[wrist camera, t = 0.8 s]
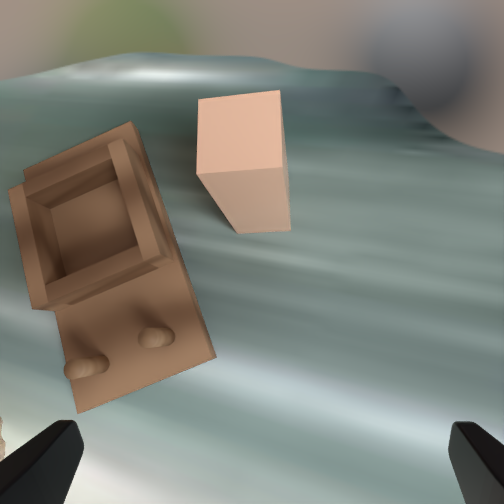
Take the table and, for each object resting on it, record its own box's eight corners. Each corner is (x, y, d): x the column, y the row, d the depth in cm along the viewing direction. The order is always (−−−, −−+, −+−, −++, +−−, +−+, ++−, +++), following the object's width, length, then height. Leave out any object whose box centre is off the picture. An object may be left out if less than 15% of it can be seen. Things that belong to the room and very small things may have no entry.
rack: (216, 357, 23) (198, 363, 19) (88, 409, 24) (44, 426, 20) (137, 129, 29) (110, 96, 25) (34, 176, 29) (-9, 151, 25)
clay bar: (290, 230, 25) (282, 167, 15) (237, 233, 25) (196, 174, 16) (288, 180, 26) (279, 90, 16) (237, 184, 26) (198, 99, 16)
